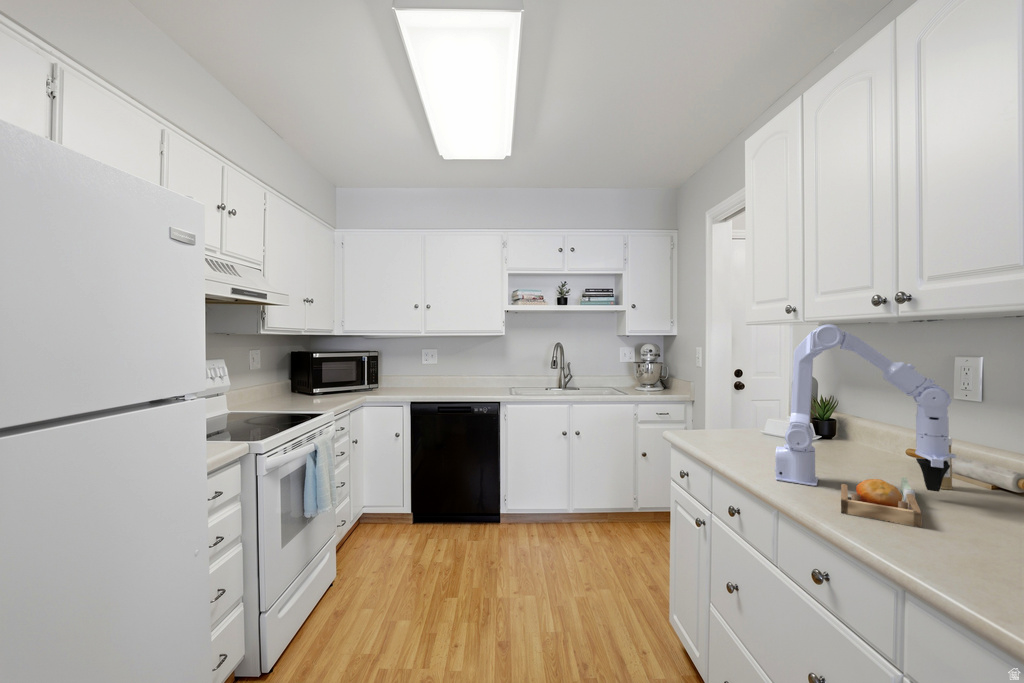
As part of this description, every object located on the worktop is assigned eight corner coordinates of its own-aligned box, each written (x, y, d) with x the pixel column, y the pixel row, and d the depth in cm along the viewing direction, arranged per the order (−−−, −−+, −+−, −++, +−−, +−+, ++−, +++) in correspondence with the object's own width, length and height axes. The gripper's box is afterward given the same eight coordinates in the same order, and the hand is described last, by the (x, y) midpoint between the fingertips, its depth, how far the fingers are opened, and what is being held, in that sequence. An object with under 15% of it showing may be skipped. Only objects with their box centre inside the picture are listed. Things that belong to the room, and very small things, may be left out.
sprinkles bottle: (954, 487, 114) (954, 436, 114) (950, 491, 112) (949, 438, 112) (931, 483, 118) (930, 433, 118) (926, 486, 115) (925, 435, 115)
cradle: (841, 513, 99) (840, 495, 99) (841, 495, 110) (841, 479, 110) (921, 527, 91) (921, 508, 91) (913, 507, 101) (913, 490, 101)
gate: (915, 506, 101) (915, 492, 101) (904, 504, 103) (904, 490, 103) (909, 490, 112) (908, 477, 112) (898, 489, 113) (898, 476, 113)
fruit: (887, 497, 104) (895, 474, 100) (902, 526, 98) (911, 502, 94) (846, 494, 107) (853, 471, 103) (858, 522, 100) (866, 498, 96)
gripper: (961, 442, 98) (962, 502, 98) (949, 430, 109) (950, 485, 109) (919, 438, 102) (919, 496, 102) (911, 427, 113) (912, 479, 113)
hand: (932, 490), depth 106 cm, fingers closed
